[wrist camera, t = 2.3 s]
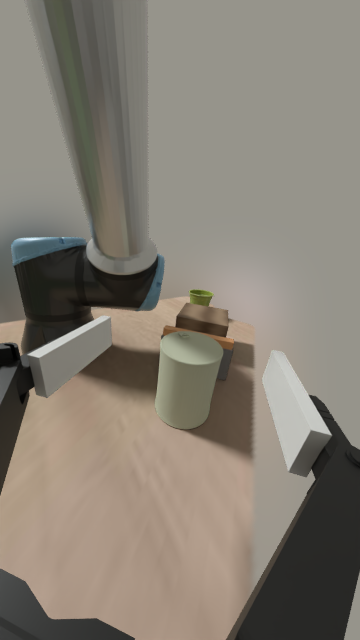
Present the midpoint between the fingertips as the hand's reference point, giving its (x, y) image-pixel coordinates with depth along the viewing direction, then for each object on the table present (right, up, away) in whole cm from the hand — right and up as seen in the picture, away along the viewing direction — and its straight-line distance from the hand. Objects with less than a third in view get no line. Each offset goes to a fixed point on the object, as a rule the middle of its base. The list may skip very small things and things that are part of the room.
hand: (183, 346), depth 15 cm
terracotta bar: (+3, -2, +22) cm, 23 cm away
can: (0, -12, +16) cm, 20 cm away
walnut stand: (+5, -4, +36) cm, 37 cm away
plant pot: (+7, +4, +58) cm, 58 cm away
